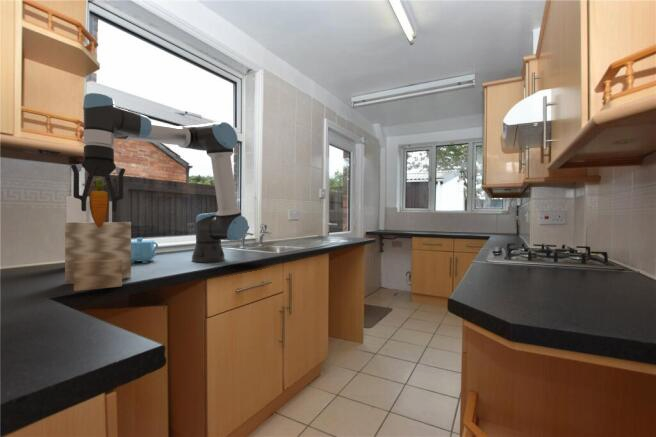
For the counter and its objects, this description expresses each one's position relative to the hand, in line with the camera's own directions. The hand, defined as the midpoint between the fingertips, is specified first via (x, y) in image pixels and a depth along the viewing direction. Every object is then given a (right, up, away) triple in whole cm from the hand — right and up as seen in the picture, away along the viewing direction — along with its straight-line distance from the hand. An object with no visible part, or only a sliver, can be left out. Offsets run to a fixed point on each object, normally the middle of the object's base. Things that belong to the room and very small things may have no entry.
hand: (99, 222), depth 96 cm
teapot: (-18, -20, +49) cm, 56 cm away
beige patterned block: (-4, -20, +5) cm, 21 cm away
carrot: (0, -2, 0) cm, 2 cm away
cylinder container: (-34, -20, +36) cm, 53 cm away
